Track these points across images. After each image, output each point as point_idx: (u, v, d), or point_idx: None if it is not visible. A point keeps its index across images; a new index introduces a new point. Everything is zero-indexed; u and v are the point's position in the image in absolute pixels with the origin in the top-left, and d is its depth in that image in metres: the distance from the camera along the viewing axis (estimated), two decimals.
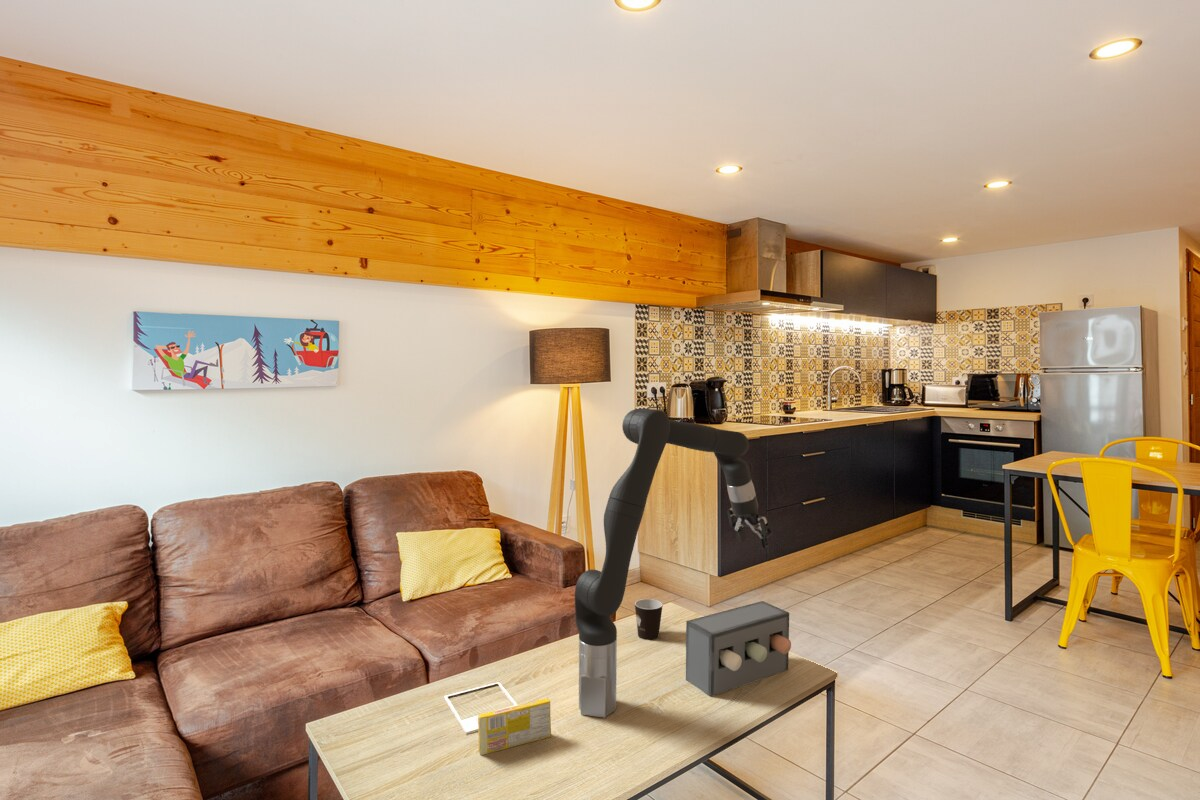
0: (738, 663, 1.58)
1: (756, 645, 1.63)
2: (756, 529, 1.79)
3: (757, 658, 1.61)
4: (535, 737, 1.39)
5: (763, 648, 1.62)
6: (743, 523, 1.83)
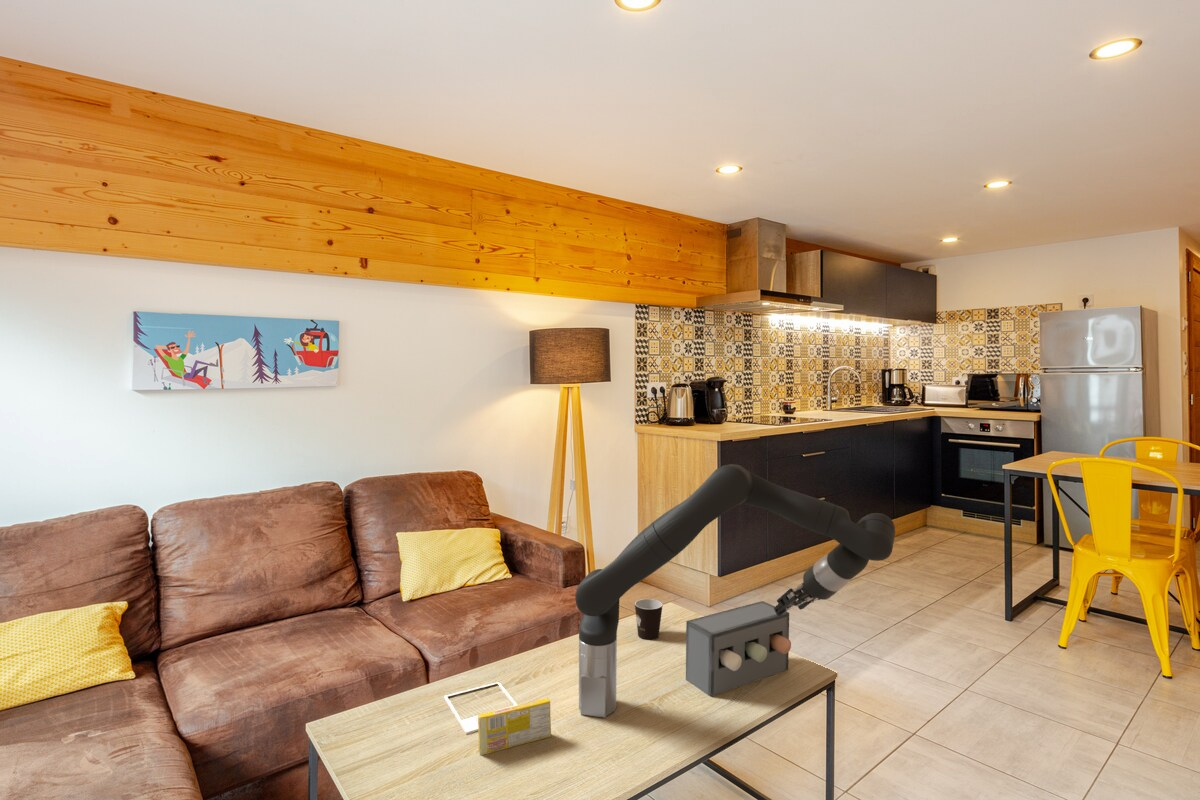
0: (738, 663, 1.58)
1: (756, 645, 1.63)
2: None
3: (757, 658, 1.61)
4: (535, 737, 1.39)
5: (763, 648, 1.62)
6: None
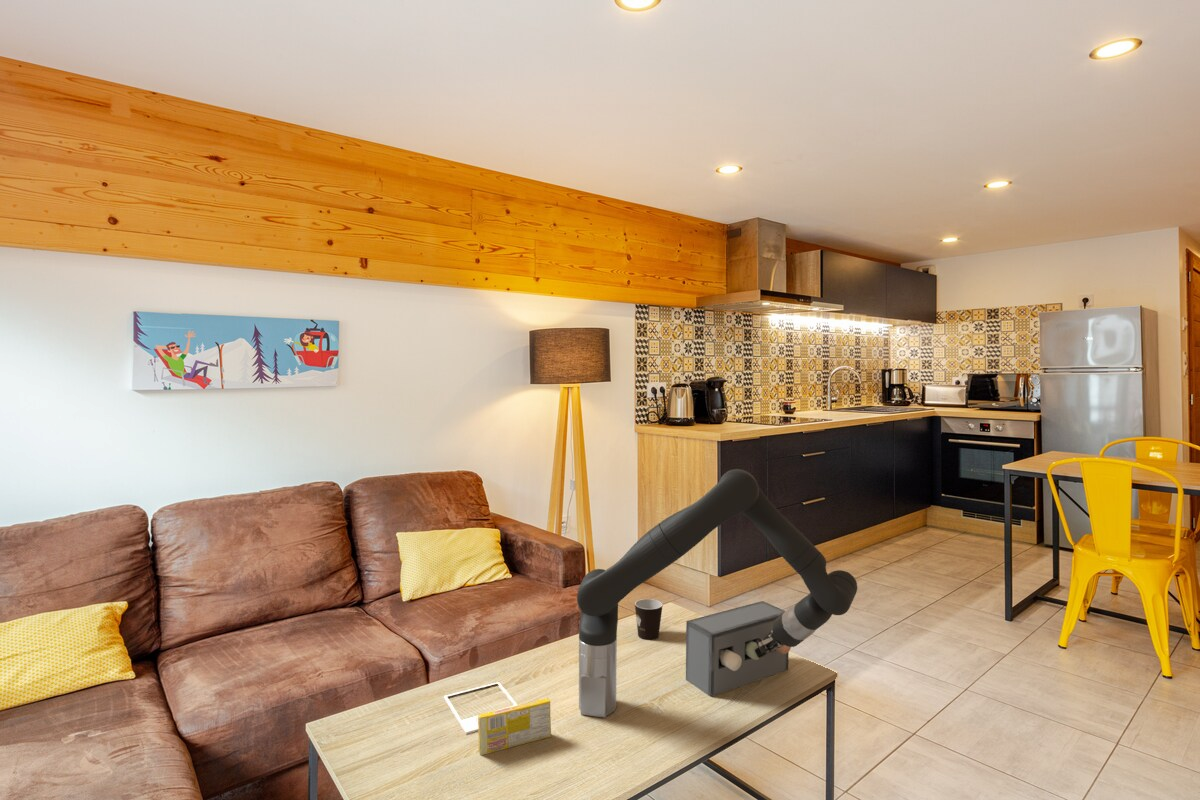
0: (738, 663, 1.58)
1: (752, 643, 1.64)
2: (765, 639, 1.58)
3: (753, 656, 1.62)
4: (535, 737, 1.39)
5: None
6: None
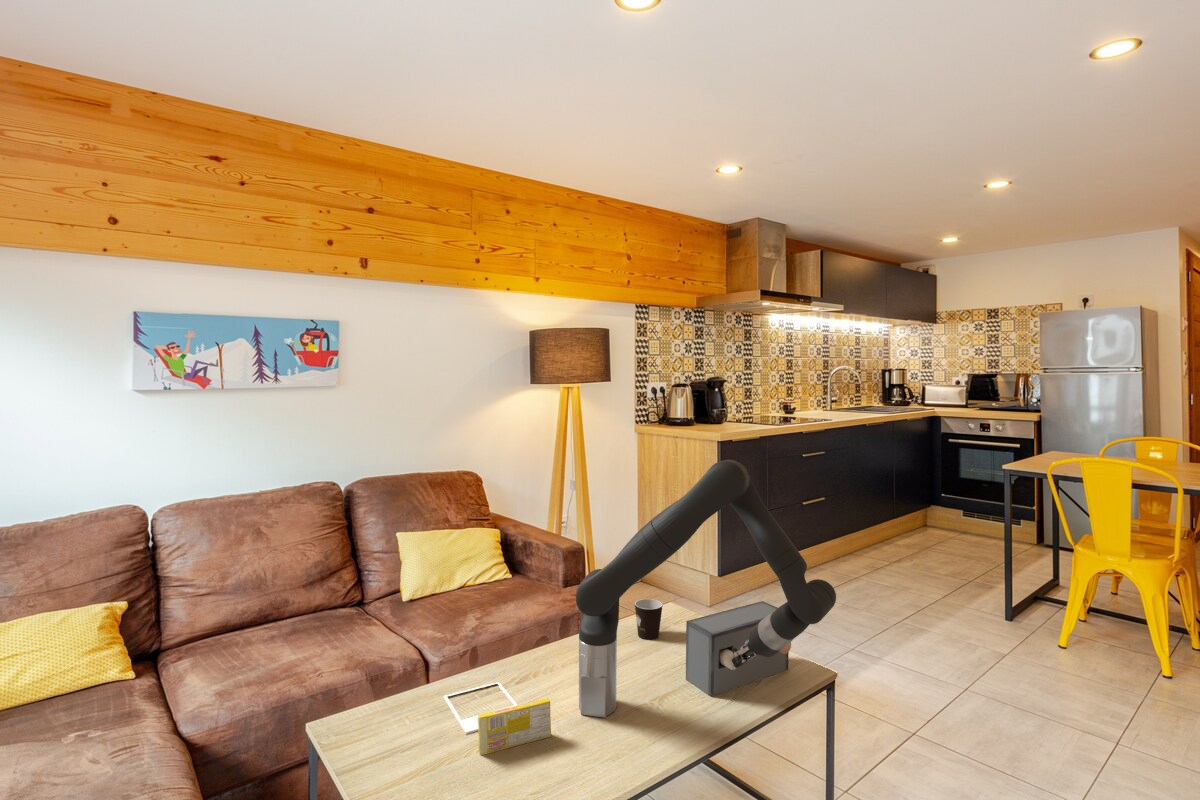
0: None
1: None
2: (741, 649, 1.53)
3: None
4: (535, 737, 1.39)
5: None
6: None
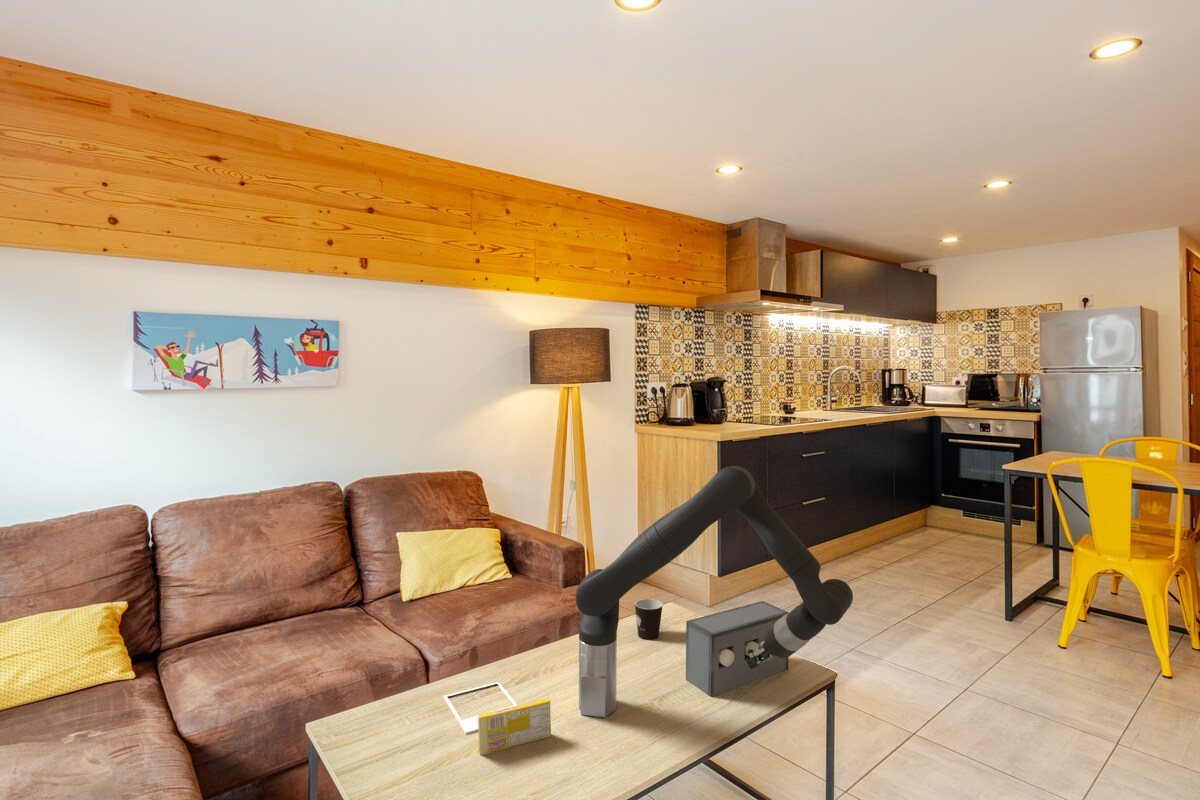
0: (731, 659, 1.60)
1: (749, 641, 1.65)
2: (756, 650, 1.52)
3: None
4: (535, 737, 1.39)
5: (756, 644, 1.64)
6: None
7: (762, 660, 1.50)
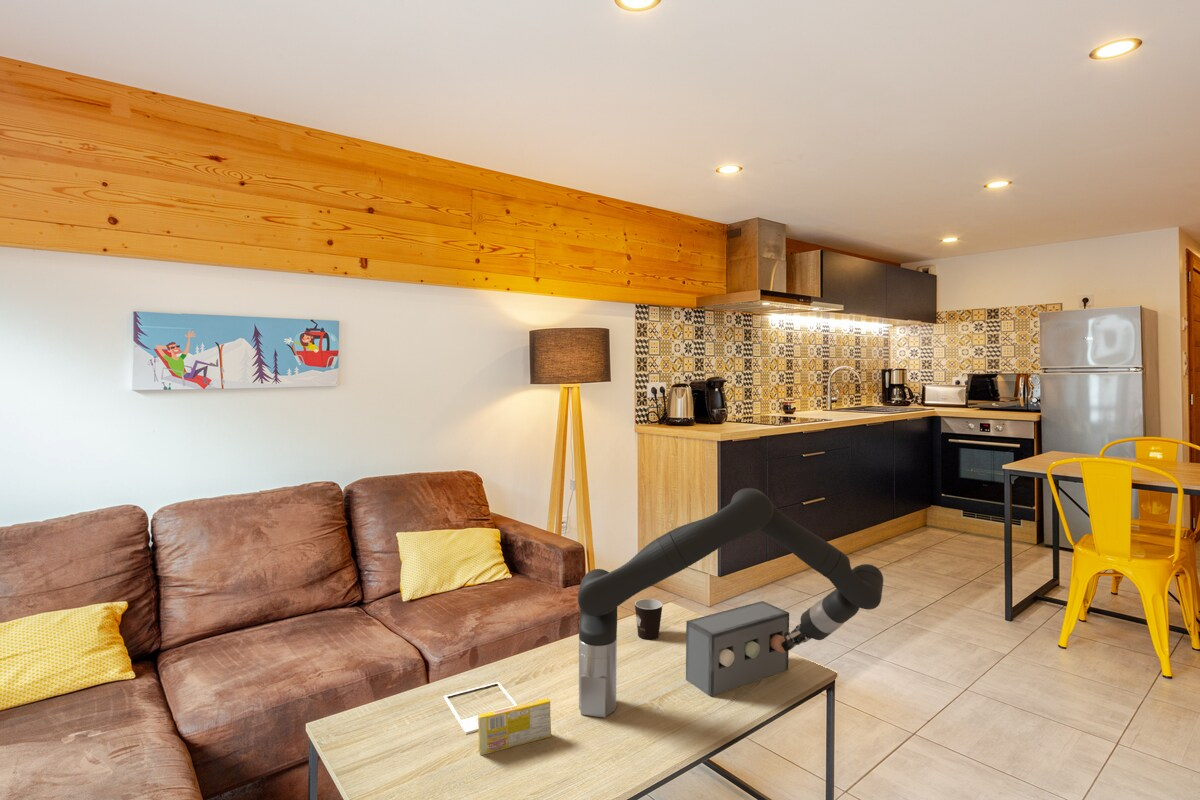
0: (731, 659, 1.60)
1: (749, 641, 1.65)
2: (792, 633, 1.62)
3: (750, 654, 1.63)
4: (535, 737, 1.39)
5: (756, 644, 1.64)
6: None
7: (797, 642, 1.61)
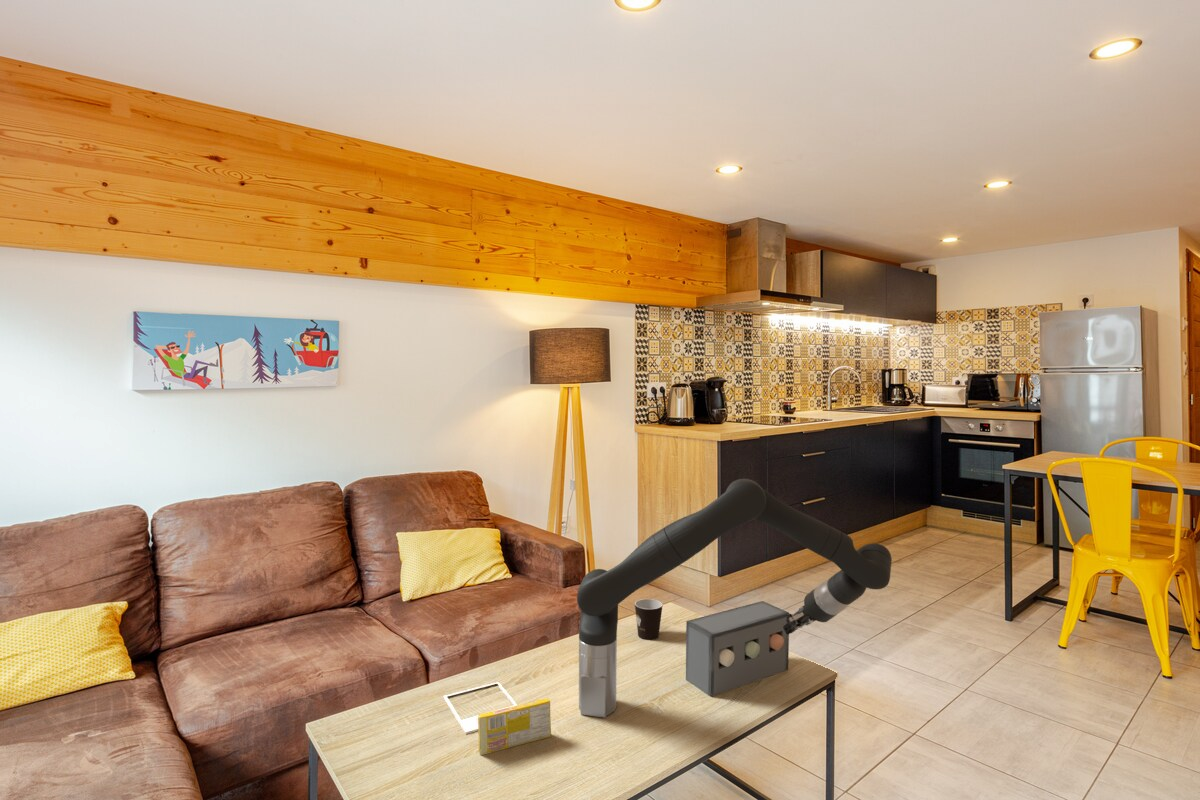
0: (731, 659, 1.60)
1: (749, 641, 1.65)
2: (794, 615, 1.57)
3: (750, 654, 1.63)
4: (535, 737, 1.39)
5: (756, 644, 1.64)
6: None
7: (800, 625, 1.56)
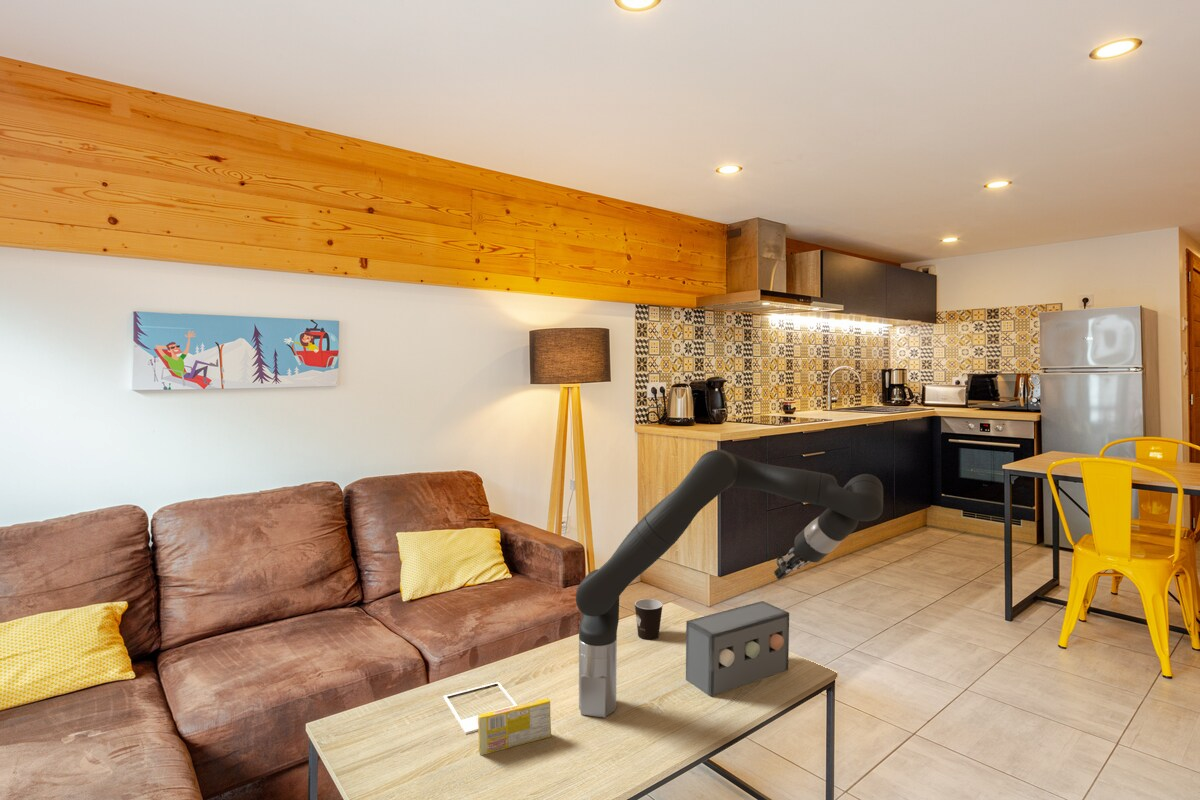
0: (731, 659, 1.60)
1: (749, 641, 1.65)
2: None
3: (750, 654, 1.63)
4: (535, 737, 1.39)
5: (756, 644, 1.64)
6: None
7: (791, 567, 1.49)
